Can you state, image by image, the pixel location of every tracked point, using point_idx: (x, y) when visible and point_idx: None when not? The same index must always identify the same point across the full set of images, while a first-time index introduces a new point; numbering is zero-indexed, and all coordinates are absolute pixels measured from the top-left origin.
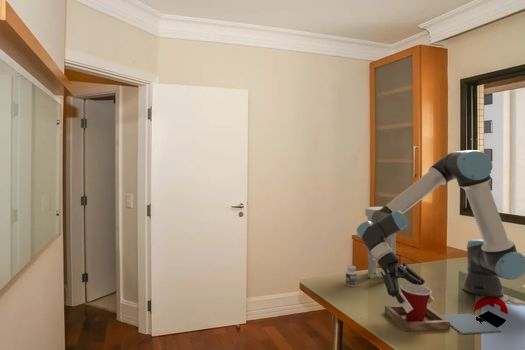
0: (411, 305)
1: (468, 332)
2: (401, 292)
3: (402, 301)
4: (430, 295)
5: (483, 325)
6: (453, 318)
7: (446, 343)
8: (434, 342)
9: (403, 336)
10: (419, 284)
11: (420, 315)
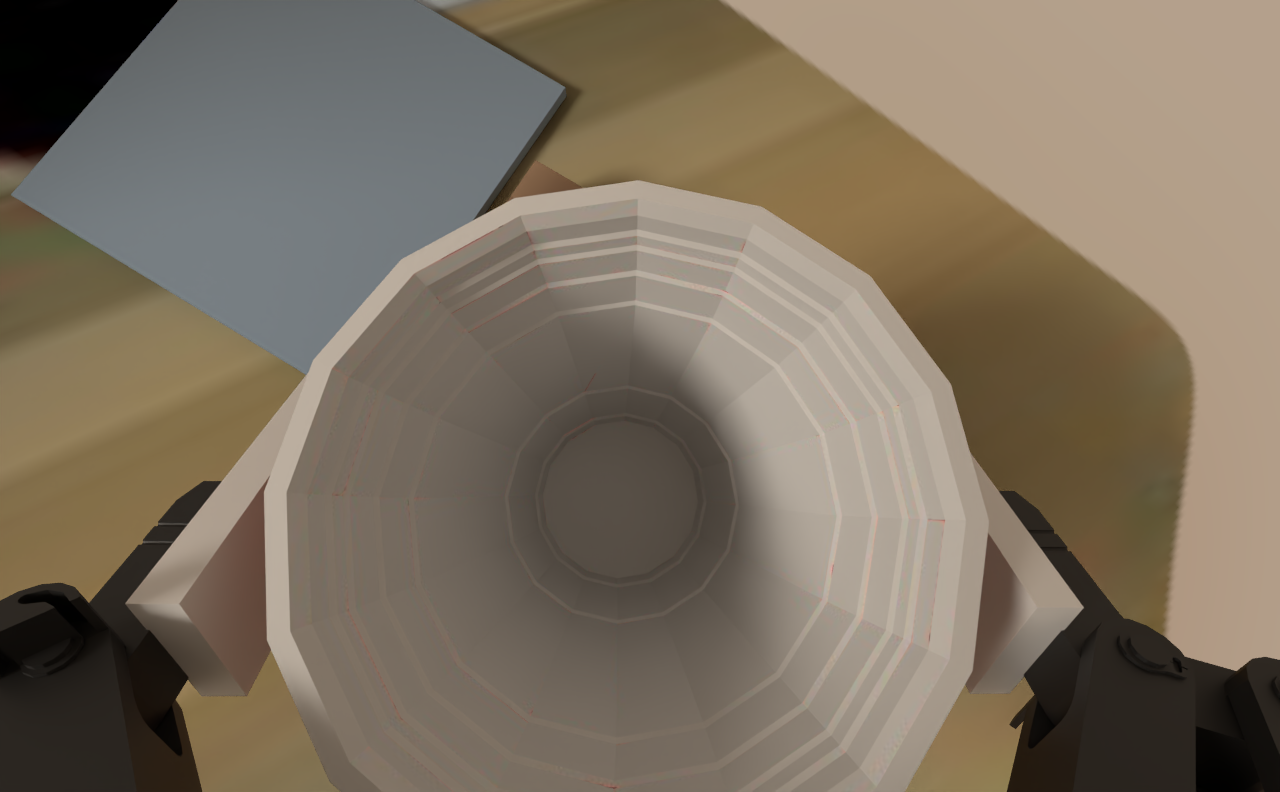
0: (784, 464)
1: (512, 58)
2: (1041, 597)
3: (1024, 500)
4: (294, 408)
5: (260, 28)
6: (305, 258)
7: (822, 106)
8: (885, 168)
9: (1008, 374)
10: (135, 686)
11: (674, 399)
